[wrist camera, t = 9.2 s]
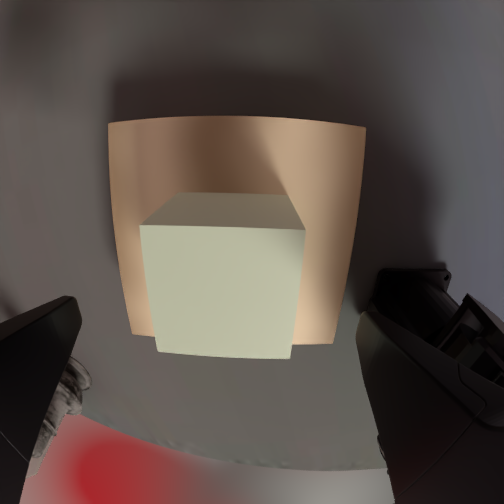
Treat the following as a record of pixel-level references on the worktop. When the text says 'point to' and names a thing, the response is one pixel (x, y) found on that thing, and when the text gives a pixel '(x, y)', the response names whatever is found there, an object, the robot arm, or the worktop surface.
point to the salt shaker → (63, 402)
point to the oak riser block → (243, 181)
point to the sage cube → (224, 274)
